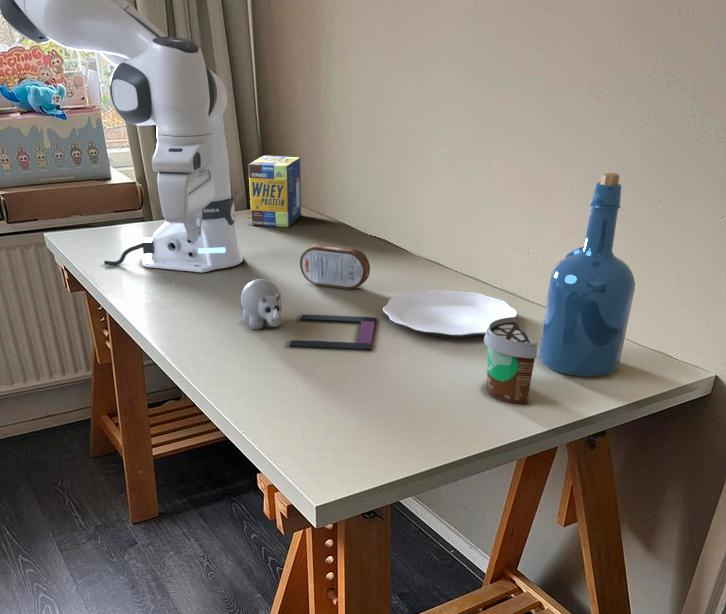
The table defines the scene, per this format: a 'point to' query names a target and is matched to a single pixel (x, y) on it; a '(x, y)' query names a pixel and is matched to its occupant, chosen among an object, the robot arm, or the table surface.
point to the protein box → (275, 190)
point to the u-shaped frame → (362, 342)
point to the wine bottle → (589, 296)
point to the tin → (334, 266)
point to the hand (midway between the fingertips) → (194, 238)
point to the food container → (509, 361)
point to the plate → (447, 312)
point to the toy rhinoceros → (261, 304)
